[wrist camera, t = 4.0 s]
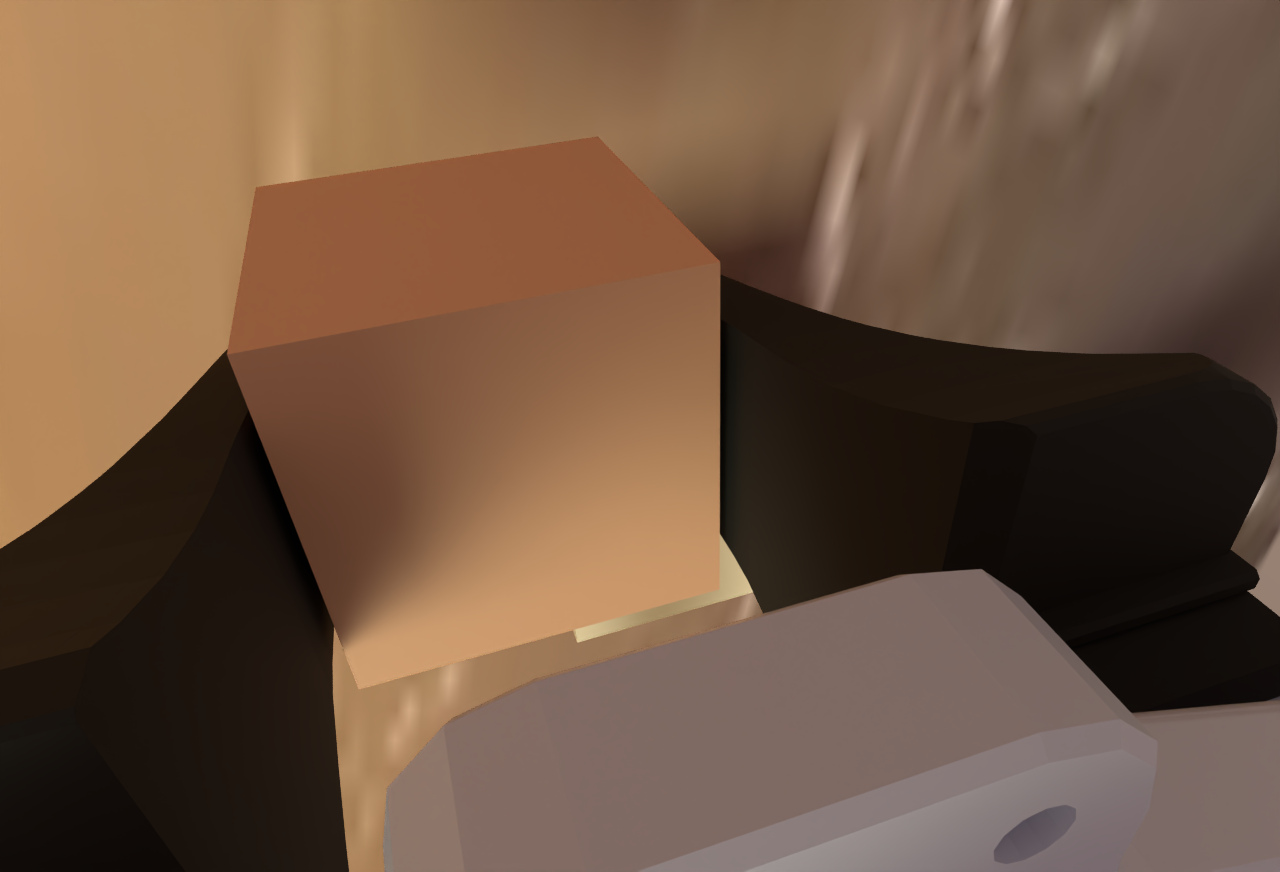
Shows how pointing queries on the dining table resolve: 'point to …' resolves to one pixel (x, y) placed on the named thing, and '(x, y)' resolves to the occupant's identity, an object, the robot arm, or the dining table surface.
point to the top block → (730, 587)
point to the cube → (484, 397)
